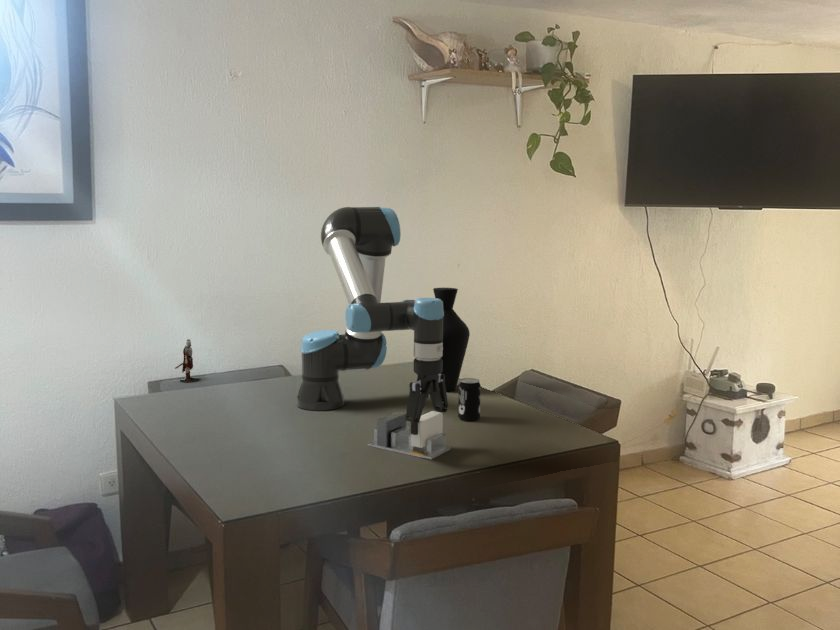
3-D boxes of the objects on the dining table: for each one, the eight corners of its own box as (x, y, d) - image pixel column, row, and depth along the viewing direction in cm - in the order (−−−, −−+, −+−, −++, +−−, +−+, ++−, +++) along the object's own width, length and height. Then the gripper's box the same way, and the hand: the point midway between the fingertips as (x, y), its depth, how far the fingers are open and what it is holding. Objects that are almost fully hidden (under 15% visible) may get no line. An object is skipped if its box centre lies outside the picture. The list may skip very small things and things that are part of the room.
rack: (367, 445, 214) (367, 418, 213) (389, 436, 222) (389, 409, 221) (431, 459, 203) (431, 430, 202) (450, 449, 212) (451, 421, 211)
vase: (433, 397, 265) (435, 293, 259) (410, 386, 280) (411, 287, 274) (477, 392, 273) (480, 290, 267) (452, 381, 288) (454, 285, 282)
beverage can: (478, 422, 237) (479, 383, 235) (456, 421, 238) (457, 382, 236) (481, 416, 243) (482, 378, 241) (459, 415, 244) (460, 377, 242)
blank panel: (411, 445, 206) (412, 419, 205) (432, 436, 215) (432, 410, 213) (421, 447, 205) (421, 421, 204) (441, 437, 213) (441, 412, 212)
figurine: (196, 383, 281) (194, 341, 278) (175, 382, 281) (173, 340, 278) (201, 378, 287) (200, 337, 285) (181, 378, 287) (179, 337, 285)
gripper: (416, 367, 195) (415, 454, 198) (462, 352, 213) (460, 432, 217) (391, 363, 199) (390, 449, 202) (438, 349, 217) (437, 427, 221)
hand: (426, 440), depth 209 cm, fingers closed on blank panel, 10 cm apart
